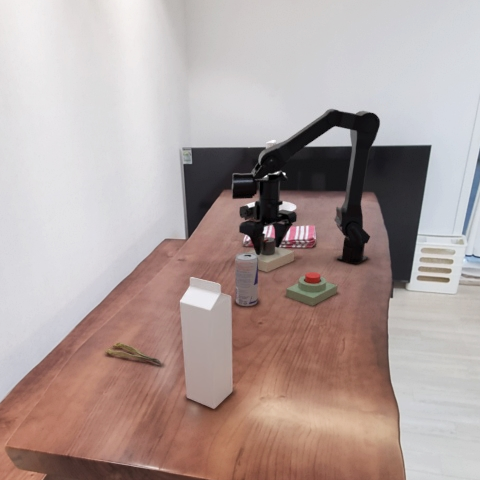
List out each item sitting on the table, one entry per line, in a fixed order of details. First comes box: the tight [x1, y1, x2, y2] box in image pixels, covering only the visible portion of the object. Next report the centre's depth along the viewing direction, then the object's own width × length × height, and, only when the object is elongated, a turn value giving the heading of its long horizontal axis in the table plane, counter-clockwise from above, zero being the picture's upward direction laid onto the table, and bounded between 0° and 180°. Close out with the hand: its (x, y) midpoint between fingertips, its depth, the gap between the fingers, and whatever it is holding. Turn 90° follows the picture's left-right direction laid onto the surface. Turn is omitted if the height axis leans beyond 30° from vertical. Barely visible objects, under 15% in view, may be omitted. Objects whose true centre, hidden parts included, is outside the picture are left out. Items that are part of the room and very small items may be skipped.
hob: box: [245, 247, 295, 273], centre depth 137 cm, size 12×10×3 cm
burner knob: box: [261, 237, 276, 255], centre depth 136 cm, size 4×4×4 cm
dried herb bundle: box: [105, 342, 162, 367], centre depth 95 cm, size 4×13×2 cm, turn 63°
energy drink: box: [234, 252, 259, 307], centre depth 112 cm, size 5×5×12 cm
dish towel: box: [242, 224, 317, 249], centre depth 155 cm, size 17×23×4 cm
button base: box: [285, 275, 338, 307], centre depth 116 cm, size 10×8×4 cm
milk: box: [179, 276, 234, 410], centre depth 77 cm, size 6×6×22 cm
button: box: [304, 271, 321, 284], centre depth 115 cm, size 4×4×2 cm
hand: (267, 251), depth 136 cm, fingers open, 8 cm apart
